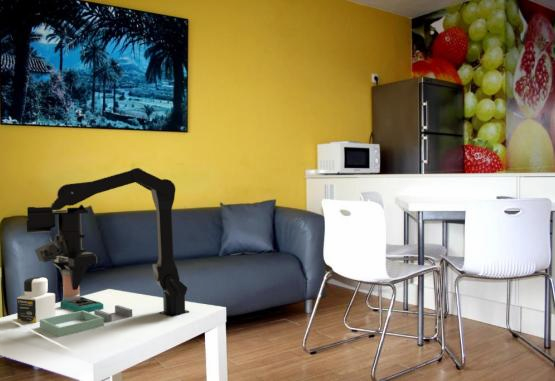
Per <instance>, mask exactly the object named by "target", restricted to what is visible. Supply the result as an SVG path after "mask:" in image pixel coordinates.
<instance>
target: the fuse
mask: <svg viewBox="0 0 555 381" xmlns="http://www.w3.org/2000/svg"><path fill="white" fill-rule="evenodd" d="M62 275H63V278H62V285H63V286H62V289H63V290H62V291H63V295H62V300H64V301H73V300H78V299H80V297H81V293H80V292H81V291H80V286H79V287H78V289H77V290H73V288H72V283H71V277H70V271H69V270H68V269H63V270H62ZM62 275H61V276H62Z"/></svg>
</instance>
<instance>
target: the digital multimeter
mask: <svg viewBox="0 0 555 381" xmlns="http://www.w3.org/2000/svg"><path fill="white" fill-rule="evenodd" d="M60 308H62V309H63V310H67V309H68V310H70V311H73V312H78V311H83V310H84V311H86V312H89V313H92V312H94V310H101V311H102V310H104V303H103V302H100V301H98V300H92V299H89V298H87V297H84V296H80V299H78V300H73V301H64V300H63V299H62V300H61V301H60Z"/></svg>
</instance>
